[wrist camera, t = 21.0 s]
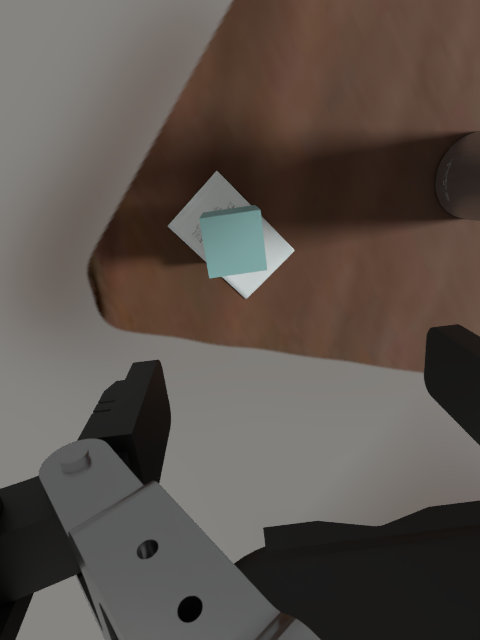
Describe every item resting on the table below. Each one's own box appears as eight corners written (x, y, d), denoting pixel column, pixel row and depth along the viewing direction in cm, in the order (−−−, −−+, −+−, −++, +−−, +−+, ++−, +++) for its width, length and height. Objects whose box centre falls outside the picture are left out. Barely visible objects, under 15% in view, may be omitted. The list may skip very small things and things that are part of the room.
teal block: (254, 204, 36) (260, 209, 31) (260, 256, 38) (267, 270, 32) (203, 212, 36) (199, 218, 31) (211, 263, 38) (209, 278, 32)
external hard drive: (245, 296, 47) (168, 225, 44) (292, 248, 46) (217, 170, 42) (246, 299, 46) (166, 226, 42) (295, 250, 44) (217, 170, 41)
